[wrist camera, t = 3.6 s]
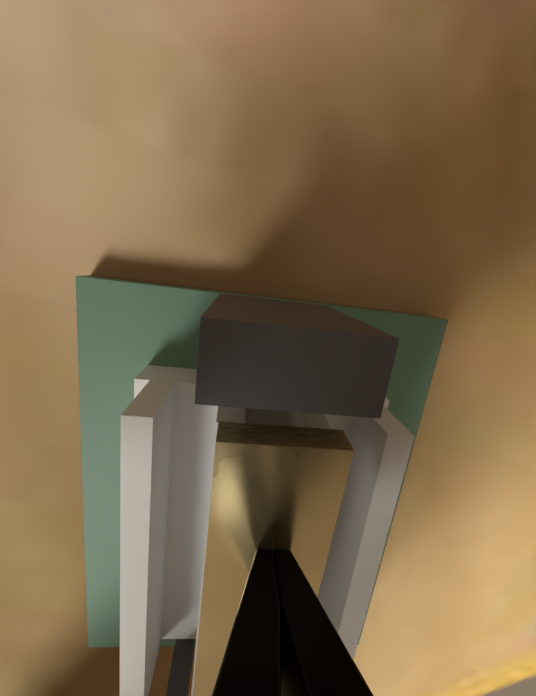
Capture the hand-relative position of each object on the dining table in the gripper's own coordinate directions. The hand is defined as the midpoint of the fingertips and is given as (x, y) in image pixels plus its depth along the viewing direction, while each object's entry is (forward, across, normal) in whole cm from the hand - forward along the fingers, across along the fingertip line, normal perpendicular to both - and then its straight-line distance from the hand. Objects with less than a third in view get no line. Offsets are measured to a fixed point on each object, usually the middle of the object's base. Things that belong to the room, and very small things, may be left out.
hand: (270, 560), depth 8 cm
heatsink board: (+6, 0, +3) cm, 7 cm away
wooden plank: (+1, 0, +3) cm, 4 cm away
